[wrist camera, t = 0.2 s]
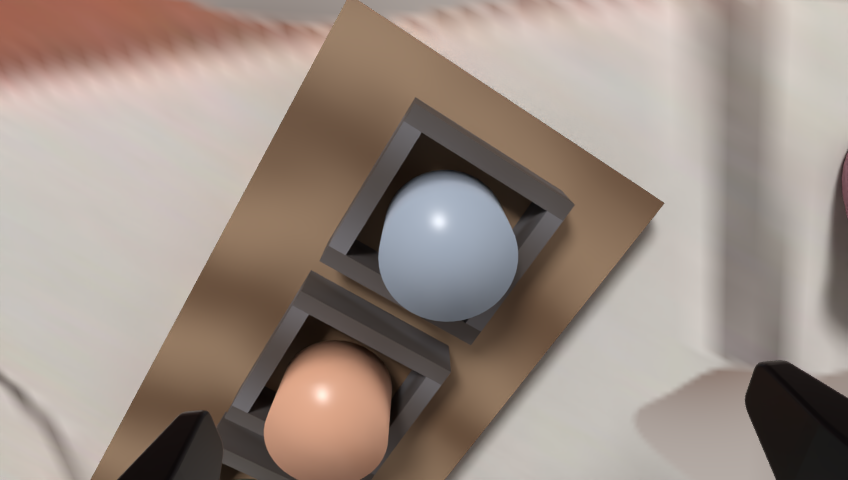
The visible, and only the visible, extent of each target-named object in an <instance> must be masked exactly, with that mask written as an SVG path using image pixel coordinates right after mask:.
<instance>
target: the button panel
mask: <svg viewBox="0 0 848 480" xmlns="http://www.w3.org/2000/svg"><path fill="white" fill-rule="evenodd" d="M436 170H455V171H460V172H464V173H467V174H469V175H472V176H474V177H475V178H477V179H479V180H480V181H482V182H483V183H484V184H485V185H487V186H488V187H489V188H490V189H491V191H492V192H493V193H494V194H495V196H496V197H497V199H498V201H499V203H500V205H501V207H502V209H503V211H504V213H505V215H506V217H507V219H508V221H509V224H510V226H511V228H512V230H513V232H514V235H515V238H516V242H517V247H518V264H517V270H516V273H515V276H514V279H513V281H512V283H511V285H510V287H509V289H508V290H507V292H506V293H505V294H504V296H503V297H502V298H501V299H500V300H499V301H498V302H497V303H496V304H495V305H494V306H492V307H491V308H489V309H488V310H487V311H485V312H483V313H481V314H479V315H477V316H474V317H472V318H469V319H465V320H460V321H451V322H443V321H434V320H429V319H426V318H423V317H420V316H418V315H416V314H413V313H411V312H410V311H408V310H407V309H405V308H404V307H403V306H401V305H400V304H399V303H398V302H397V301H396V300H395V299H394V298H393V297H392V295H391V294H390V293H389V291H388V290H387V288H386V286H385V284H384V282H383V279H382V276H381V273H380V269H379V259H378V256H379V246H380V241H381V236H382V231H383V226H384V221H385V216H386V212H387V209H388V207H389V204H390V202H391V201H392V199H393V197H394V196H395V194H396V193H397V192H398V191H399V190H400V189H401V187H402V186H404V185H405V184H406V183H407V182H409V181H410V180H412V179H413V178H415V177H417V176H419V175H421V174H424V173H427V172H430V171H436ZM663 204H664V203H663V202H662V201H660V200H659V199H658V198H656V197H655V196H653V195H652V194H650V193H649V192H647V191H646V190H644V189H643V188H641V187H640V186H638V185H637V184H635V183H634V182H632V181H631V180H629V179H628V178H626V177H625V176H623V175H621V174H620V173H618V172H617V171H615V170H614V169H612V168H611V167H609V166H608V165H606V164H605V163H603V162H602V161H600V160H599V159H597V158H596V157H594V156H593V155H591V154H590V153H588V152H587V151H585V150H584V149H582V148H581V147H579V146H578V145H576V144H575V143H573V142H572V141H570V140H569V139H567V138H566V137H564V136H563V135H561V134H560V133H558V132H557V131H555V130H553V129H552V128H550V127H549V126H547V125H546V124H544V123H543V122H541V121H540V120H538V119H537V118H535V117H534V116H532V115H531V114H529V113H528V112H526V111H525V110H523V109H522V108H520V107H519V106H517V105H516V104H514V103H513V102H511V101H510V100H508V99H507V98H505V97H504V96H502V95H501V94H499V93H498V92H496V91H495V90H493V89H492V88H490V87H488V86H487V85H485V84H484V83H482V82H481V81H479V80H478V79H476V78H475V77H473V76H472V75H470V74H469V73H467V72H466V71H464V70H463V69H461V68H460V67H458V66H457V65H455V64H454V63H452V62H451V61H449V60H448V59H446V58H445V57H443V56H442V55H440V54H439V53H437V52H436V51H434V50H433V49H431V48H430V47H428V46H427V45H425V44H423V43H422V42H420V41H419V40H417V39H416V38H414V37H413V36H411V35H410V34H408V33H407V32H405V31H404V30H402V29H401V28H399V27H398V26H396V25H395V24H393V23H392V22H390V21H389V20H387V19H386V18H384V17H383V16H381V15H380V14H378V13H377V12H375V11H374V10H372V9H370V8H369V7H368V6H366V5H365V4H363V3H361V2H360V1H358V0H347V1H346V2H345V4H344V6H343V8H342V10H341V12H340V14H339V15H338V17H337V19H336V21H335V23H334V25H333V27H332V29H331V30H330V32H329V34H328V36H327V38H326V40H325V42H324V44H323V45H322V47H321V49H320V51H319V53H318V55H317V57H316V59H315V60H314V62H313V64H312V66H311V68H310V70H309V72H308V74H307V75H306V77H305V79H304V81H303V83H302V85H301V87H300V89H299V90H298V92H297V94H296V96H295V98H294V100H293V102H292V104H291V105H290V107H289V109H288V111H287V113H286V115H285V117H284V119H283V120H282V122H281V124H280V126H279V128H278V130H277V132H276V133H275V135H274V137H273V139H272V141H271V143H270V145H269V147H268V148H267V150H266V152H265V154H264V156H263V158H262V160H261V162H260V163H259V165H258V167H257V169H256V171H255V173H254V175H253V177H252V178H251V180H250V182H249V184H248V186H247V188H246V190H245V192H244V193H243V195H242V197H241V199H240V201H239V203H238V205H237V207H236V208H235V210H234V212H233V214H232V216H231V218H230V220H229V222H228V223H227V225H226V227H225V229H224V231H223V233H222V235H221V237H220V238H219V240H218V242H217V244H216V246H215V248H214V250H213V252H212V253H211V255H210V257H209V259H208V261H207V263H206V265H205V266H204V268H203V270H202V272H201V274H200V276H199V278H198V280H197V281H196V283H195V285H194V287H193V289H192V291H191V293H190V295H189V296H188V298H187V300H186V302H185V304H184V306H183V308H182V310H181V311H180V313H179V315H178V317H177V319H176V321H175V323H174V325H173V326H172V328H171V330H170V332H169V334H168V336H167V338H166V340H165V341H164V343H163V345H162V347H161V349H160V351H159V353H158V355H157V356H156V358H155V360H154V362H153V364H152V366H151V368H150V370H149V371H148V373H147V375H146V377H145V379H144V381H143V383H142V385H141V386H140V388H139V390H138V392H137V394H136V396H135V398H134V399H133V401H132V403H131V405H130V407H129V409H128V411H127V413H126V414H125V416H124V418H123V420H122V422H121V424H120V426H119V428H118V429H117V431H116V433H115V435H114V437H113V439H112V441H111V443H110V444H109V446H108V448H107V450H106V452H105V454H104V456H103V458H102V459H101V461H100V463H99V465H98V467H97V469H96V471H95V473H94V474H93V476H92V478H91V480H117V479H118V478H119V477H120V476H121V475H122V474H123V473H124V472H125V471H126V469H127V468H128V467H129V466H130V465H131V464H132V463H133V462H134V461H135V460H136V459H137V458H138V457H139V456H140V455H141V454H142V453H143V452H144V451H145V450H146V449H147V448H148V447H149V445H150V444H151V443H152V442H153V441H154V440H155V439H156V438H157V437H158V436H159V435H160V434H161V433H162V432H163V431H164V430H165V429H166V428H167V427H168V426H169V425H170V424H171V423H172V422H173V420H174V419H175V418H176V417H177V416H178V415H180V414H181V413H183V412H187V411H197V410H206V411H208V412H209V413H210V414H211V416H212V418H213V421H214V423H215V426H216V428H217V430H218V433H219V435H220V437H221V440H222V443H223V459H222V466H221V473H220V480H236V479H255V480H297V479H296V478H294V477H292V476H290V475H289V474H287V473H286V472H284V471H283V470H282V469H281V468H280V467H279V466H278V465H277V464H276V463H275V462H274V460H273V459H272V457H271V456H270V454H269V452H268V450H267V447H266V444H265V440H264V426H265V421H266V418H267V415H268V413H269V411H270V408H271V406H272V403H273V401H274V398H275V396H276V393H277V391H278V388H279V386H280V383H281V381H282V378H283V376H284V374H285V371H286V369H287V367H288V365H289V363H290V362H291V360H292V359H293V358H294V357H295V356H296V355H297V354H298V353H299V352H300V351H301V350H303V349H304V348H306V347H308V346H310V345H312V344H315V343H318V342H322V341H328V340H342V341H348V342H352V343H356V344H359V345H361V346H363V347H365V348H367V349H368V350H370V351H371V352H373V353H374V354H375V355H376V356H377V357H378V358H379V359H380V360H381V361H382V362H383V363H384V365H385V366H386V368H387V370H388V372H389V375H390V377H391V382H392V397H391V410H390V422H389V435H388V446H387V449H386V453H385V455H384V457H383V459H382V461H381V462H380V464H379V465H378V466H377V467H376V468H375V469H374V470H373V471H372V472H371V473H370V474H368V475H367V476H365V477H364V478H362V479H360V480H445V479H446V477H447V476H448V475H449V473H450V472H451V471H452V470H453V468H454V467H455V466H456V465H457V463H458V462H459V461H460V460H461V458H462V457H463V456H464V455H465V453H466V452H467V451H468V450H469V448H470V447H471V446H472V445H473V443H474V442H475V441H476V440H477V438H478V437H479V436H480V435H481V433H482V432H483V431H484V429H485V428H486V427H487V426H488V424H489V423H490V422H491V421H492V419H493V418H494V417H495V416H496V414H497V413H498V412H499V411H500V409H501V408H502V407H503V406H504V404H505V403H506V402H507V401H508V399H509V398H510V397H511V396H512V394H513V393H514V392H515V391H516V389H517V388H518V387H519V385H520V384H521V383H522V382H523V380H524V379H525V378H526V377H527V375H528V374H529V373H530V372H531V370H532V369H533V368H534V367H535V365H536V364H537V363H538V362H539V360H540V359H541V358H542V357H543V355H544V354H545V353H546V352H547V350H548V349H549V348H550V347H551V345H552V344H553V343H554V341H555V340H556V339H557V338H558V336H559V335H560V334H561V333H562V331H563V330H564V329H565V328H566V326H567V325H568V324H569V323H570V321H571V320H572V319H573V318H574V316H575V315H576V314H577V313H578V311H579V310H580V309H581V308H582V306H583V305H584V304H585V303H586V301H587V300H588V299H589V297H590V296H591V295H592V294H593V292H594V291H595V290H596V289H597V287H598V286H599V285H600V284H601V282H602V281H603V280H604V279H605V277H606V276H607V275H608V274H609V272H610V271H611V270H612V269H613V267H614V266H615V265H616V264H617V262H618V261H619V260H620V259H621V257H622V256H623V255H624V253H625V252H626V251H627V250H628V248H629V247H630V246H631V245H632V243H633V242H634V241H635V240H636V238H637V237H638V236H639V235H640V233H641V232H642V231H643V230H644V228H645V227H646V226H647V225H648V223H649V222H650V221H651V220H652V218H653V217H654V216H655V215H656V213H657V212H658V211H659V209H660V208H661V207H662V206H663Z"/></svg>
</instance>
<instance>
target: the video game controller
mask: <svg viewBox="0 0 848 480" xmlns="http://www.w3.org/2000/svg"><path fill="white" fill-rule="evenodd" d="M842 194H843V200H844V205H845V210H846V215H847V218H848V153H847V155H846V158H845V162H844V165H843V173H842Z"/></svg>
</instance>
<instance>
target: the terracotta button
mask: <svg viewBox="0 0 848 480" xmlns="http://www.w3.org/2000/svg"><path fill="white" fill-rule="evenodd" d="M391 397H392V382H391V377H390V375H389V372H388V370H387V368H386V366H385V365H384V363H383V362H382V361H381V360H380V359H379V358H378V357H377V356H376V355H375V354H374V353H373V352H371V351H370V350H368V349H367V348H365V347H363V346H361V345H359V344H356V343H352V342H348V341H342V340H328V341H322V342H318V343H315V344H312V345H310V346H308V347H306V348H304V349H303V350H301V351H300V352H299V353H298V354H297V355H296V356H295V357H294V358H293V359H292V360H291V362H290V363H289V365H288V367H287V369H286V371H285V374H284V376H283V378H282V381H281V383H280V386H279V388H278V391H277V393H276V396H275V398H274V401H273V403H272V406H271V408H270V411H269V413H268V415H267V418H266V421H265V426H264V440H265V444H266V447H267V450H268V452H269V454H270V456H271V457H272V459H273V460H274V462H275V463H276V464H277V465H278V466H279V467H280V468H281V469H282V470H283V471H284V472H286V473H287V474H289V475H290V476H292V477H294V478H296V479H297V480H360V479H362V478H364V477H365V476H367V475H368V474H370V473H371V472H372V471H373V470H374V469H375V468H376V467H377V466H378V465H379V464H380V462H381V461H382V459H383V457H384V455H385V453H386V449H387V446H388V435H389V422H390V410H391Z"/></svg>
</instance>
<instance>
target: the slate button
mask: <svg viewBox="0 0 848 480" xmlns="http://www.w3.org/2000/svg"><path fill="white" fill-rule="evenodd" d="M378 259H379V269H380V273H381V276H382V279H383V282H384V284H385V286H386V288H387V290H388V291H389V293H390V294H391V295H392V297H393V298H394V299H395V300H396V301H397V302H398V303H399V304H400V305H401V306H403V307H404V308H405V309H407V310H408V311H410V312H411V313H413V314H416V315H418V316H420V317H423V318H426V319H429V320H434V321H443V322H451V321H460V320H465V319H469V318H472V317H474V316H477V315H479V314H481V313H483V312H485V311H487V310H488V309H489V308H491V307H492V306H494V305H495V304H496V303H497V302H498V301H499V300H500V299H501V298H502V297H503V296H504V294H505V293H506V292H507V290H508V289H509V287H510V285H511V283H512V281H513V279H514V276H515V273H516V270H517V264H518V247H517V242H516V238H515V235H514V232H513V230H512V228H511V226H510V224H509V221H508V219H507V217H506V215H505V213H504V211H503V209H502V207H501V205H500V203H499V201H498V199H497V197H496V196H495V194H494V193H493V192H492V191H491V189H490V188H489V187H488V186H487V185H485V184H484V183H483V182H482V181H480V180H479V179H477V178H475V177H474V176H472V175H469V174H467V173H464V172H460V171H455V170H436V171H430V172H427V173H424V174H421V175H419V176H417V177H415V178H413V179H412V180H410V181H409V182H407V183H406V184H405V185H404V186H402V187H401V189H400V190H399V191H398V192H397V193H396V194H395V196H394V197H393V199H392V201H391V202H390V204H389V207H388V209H387V212H386V216H385V221H384V226H383V231H382V236H381V241H380V246H379V256H378Z"/></svg>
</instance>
